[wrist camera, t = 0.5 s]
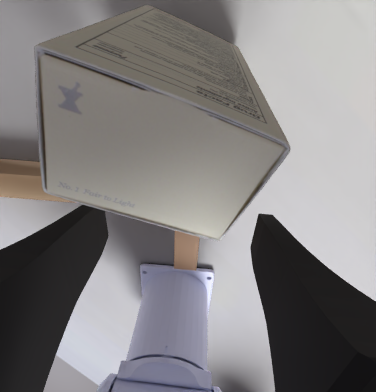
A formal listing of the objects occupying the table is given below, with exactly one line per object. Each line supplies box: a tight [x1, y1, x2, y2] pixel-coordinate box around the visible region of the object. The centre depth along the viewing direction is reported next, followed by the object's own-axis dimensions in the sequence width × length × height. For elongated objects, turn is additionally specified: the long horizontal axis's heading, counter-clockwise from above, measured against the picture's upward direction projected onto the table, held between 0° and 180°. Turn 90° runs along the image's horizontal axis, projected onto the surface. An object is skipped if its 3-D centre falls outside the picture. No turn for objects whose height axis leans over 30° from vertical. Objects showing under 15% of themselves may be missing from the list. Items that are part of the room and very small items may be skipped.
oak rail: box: [0, 159, 76, 203], centre depth 20 cm, size 2×14×2 cm, turn 87°
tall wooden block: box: [174, 231, 200, 271], centre depth 19 cm, size 10×2×5 cm, turn 177°
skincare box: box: [34, 5, 290, 241], centre depth 11 cm, size 6×4×12 cm
